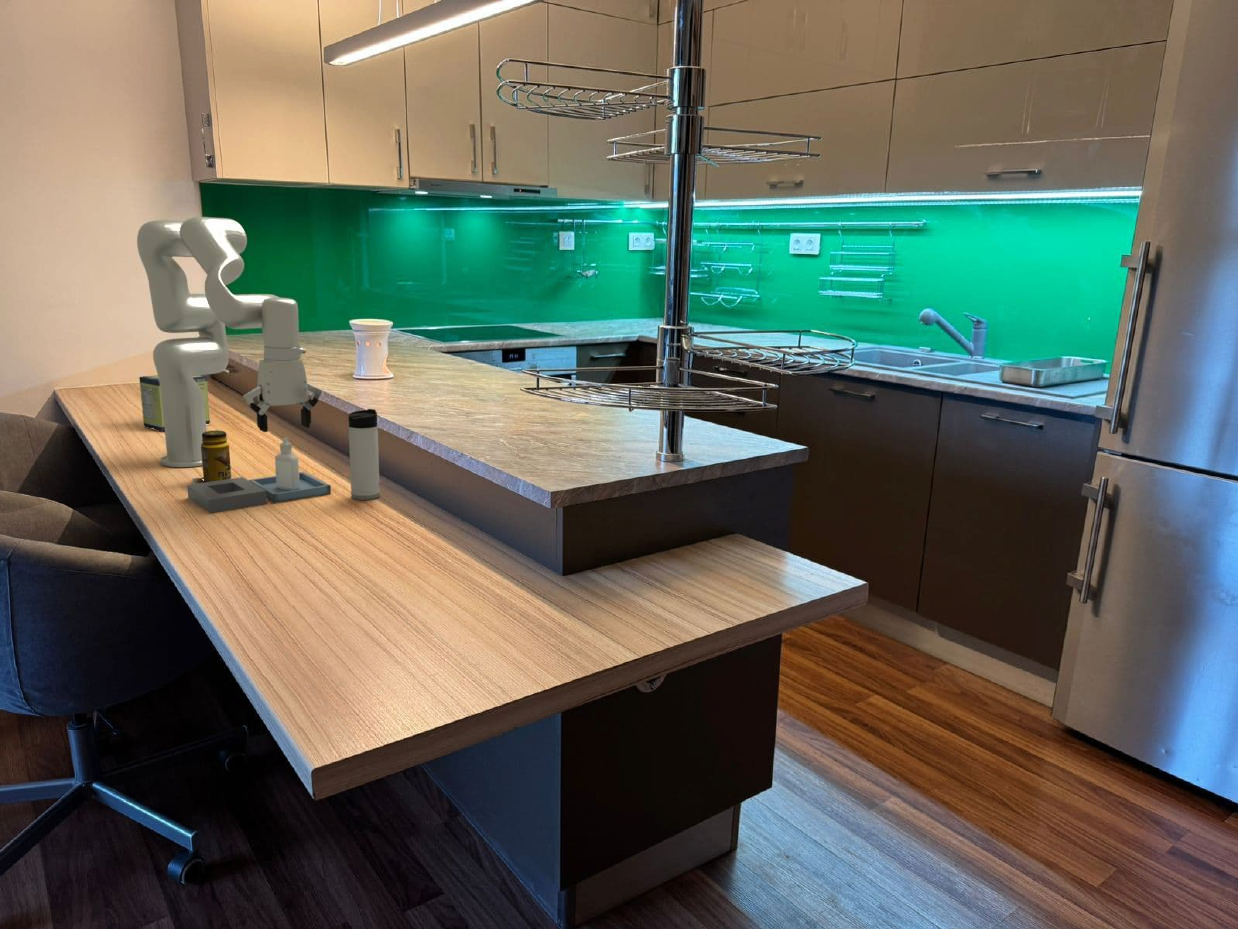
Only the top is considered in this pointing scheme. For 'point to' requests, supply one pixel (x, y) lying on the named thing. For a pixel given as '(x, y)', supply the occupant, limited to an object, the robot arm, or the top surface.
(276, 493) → the parts tray
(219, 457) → the condiment
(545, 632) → the top surface
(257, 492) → the bottle holder
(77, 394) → the top surface
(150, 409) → the protein box
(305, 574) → the top surface
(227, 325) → the robot arm
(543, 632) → the top surface
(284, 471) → the eye dropper bottle
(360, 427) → the travel mug
